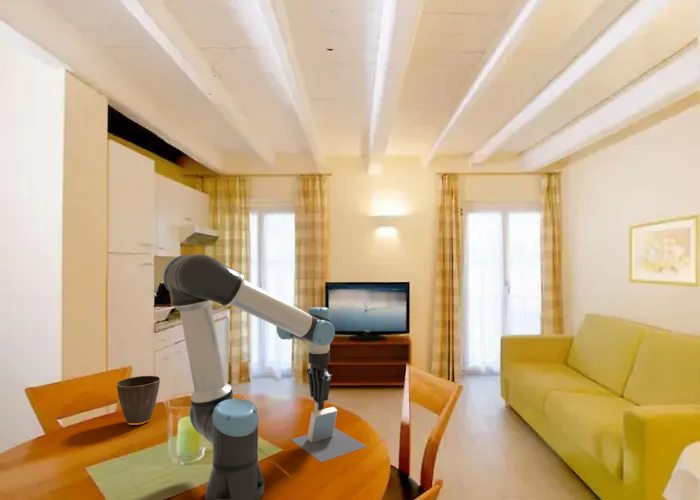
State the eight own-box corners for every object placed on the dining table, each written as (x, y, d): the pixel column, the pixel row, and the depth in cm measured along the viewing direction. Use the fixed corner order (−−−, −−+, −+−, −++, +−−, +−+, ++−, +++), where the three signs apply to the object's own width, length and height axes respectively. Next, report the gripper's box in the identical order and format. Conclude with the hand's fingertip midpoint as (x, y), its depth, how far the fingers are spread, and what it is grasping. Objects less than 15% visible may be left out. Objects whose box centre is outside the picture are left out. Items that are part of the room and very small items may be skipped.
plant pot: (106, 427, 155) (107, 384, 155) (137, 413, 169) (138, 374, 169) (139, 432, 150) (139, 388, 151) (168, 417, 164) (168, 377, 165)
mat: (321, 464, 127) (321, 462, 127) (290, 441, 143) (290, 439, 143) (367, 448, 137) (367, 446, 137) (333, 428, 153) (333, 426, 153)
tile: (310, 442, 140) (315, 416, 138) (307, 437, 142) (311, 412, 140) (333, 435, 146) (337, 410, 144) (329, 431, 148) (333, 406, 146)
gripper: (338, 353, 142) (338, 422, 141) (318, 347, 153) (318, 411, 152) (320, 356, 138) (320, 428, 137) (300, 349, 148) (300, 416, 147)
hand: (319, 419), depth 144 cm, fingers closed
